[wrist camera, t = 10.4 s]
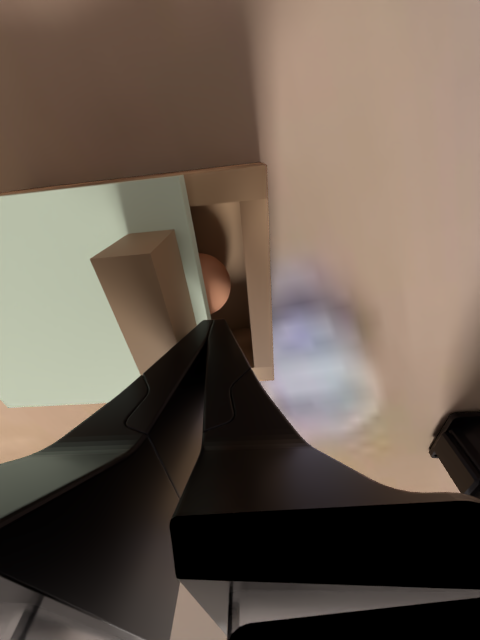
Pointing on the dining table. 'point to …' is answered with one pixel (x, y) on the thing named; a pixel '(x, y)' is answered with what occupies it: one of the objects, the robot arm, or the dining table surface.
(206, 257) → the ball
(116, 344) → the lid
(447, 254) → the dining table surface
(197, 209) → the box
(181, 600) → the milk carton
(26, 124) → the dining table surface
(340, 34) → the dining table surface
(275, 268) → the dining table surface
